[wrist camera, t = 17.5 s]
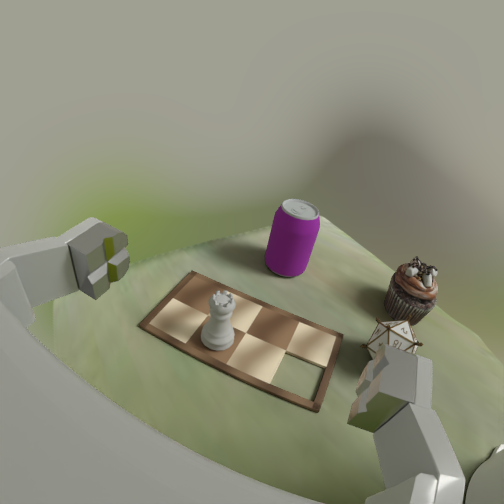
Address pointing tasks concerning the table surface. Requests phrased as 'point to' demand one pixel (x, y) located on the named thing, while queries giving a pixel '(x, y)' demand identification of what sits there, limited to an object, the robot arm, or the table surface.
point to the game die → (393, 336)
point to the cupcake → (412, 291)
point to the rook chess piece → (219, 322)
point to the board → (244, 336)
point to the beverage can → (292, 237)
